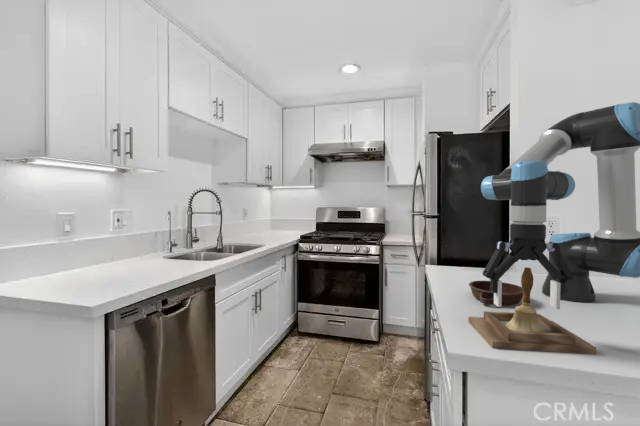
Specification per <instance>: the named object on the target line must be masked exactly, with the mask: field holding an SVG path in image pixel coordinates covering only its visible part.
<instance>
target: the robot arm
mask: <svg viewBox="0 0 640 426" xmlns="http://www.w3.org/2000/svg"><path fill="white" fill-rule="evenodd" d="M538 138H539V139H538V141H537V142H536V143H534V144H533V145H532V146H531V147H530V148H529V149H527V150H526V151H525V152H524V153H523V154H521V156H519V157H518V158H517V159H515V160H514V162H512V163H511V164H510V165H509V166H508V167H506V168H505V169H504V170H503V171H502V172H500V173H499V174H497V175H494V174H493V175H490V176H489V175H488V176H485V177H484V178H483V179H482V181H481V184H480V191H481V194H482V196H483V197H484V199H486V200H489V201H490V200H494V201H507V200H508V201H509V200H510V211H509V212H510V214H509V215H510V217H509V218H510V219H509V220H510V221H511V222H512V223H510V225H509V226H510V227H509V228H510V229H509V238H510V239H509V242H504V241H499V240H498V241H496V245H495V250H494V252H493V253H492V256H491V257H490V259H489V261H488V263H487V264H486V266H485V268H484V270H483V271H482V275H483V276H484V277H486V278H487V279H489V281H490V290H491V292H493V293H494V304H495V305H496V306H497V307H498V308H502V305H501V303H502V280H500V279H501V277H503V276H504V275H505V273H507V271H508V270H509V269H510V268H511V267H513V265H514V264H515V263H517V262H518V261H519V260H520V261H529V260H530V261H537V262H539V264H540V265H541V266H542V267H543V268H544V269H545V271H546V272H547V276H546V277H545V280H544V282H543V284H542V289H541V290H542V294H544V295H545V296H548V297H549V306H550V307H552V308H554V309H556V310H560V309H561V300H562V301H567V302H568V301H570V302H576V303H577V302H579V303H589V302H590V303H592V302H594V301H596V292H595V290H594V287H593V285H592V282H591V280H590V279H591V278H590V272H594V273H600V274H601V273H602V274H605V275H606V274H607V275H614V276H619V277H627V278H632V279H633V278H634V279H635V278H640V231H639V230H638V229H637V203H636V201H637V197H636V168H635V165H636V163H635V161H636V160H635V159H636V158H635V153H636V152H637V151H638V150H640V103H638V102H633V101H632V102H626V103H621V104H620V103H618V104H615V105H611V106H606V107H601V108H597V109H593V110H592V109H591V110H588V111H582V112H578V113H574V114H572V115H570V116H567V117H566V118H563V119H561V120H560V121H559V122H557V123H555V124H553V125H552V126H550V127H549V128H548V129H547V130H545V131H544V132H543V133H542V134H540V136H539V137H538ZM582 148H590V149H589V151H590V154H592V155H594V156H595V157H596V165H597V166H596V168H597V193H598V196H597V197H598V198H597V199H598V222H599V229H598V230H597V231H595V232H594V233H593V237H592V234H591V233H590V232H571V233H569V232H568V233H556V234H555V233H554V234H552V235H551V236H550V237H549V242H547V243H546V236H547V225H545V224H544V223H546V222H547V200H548V201H549V200H551V201H555V200H556V201H558V200H559V201H560V200H563V199H566V198H568V197H570V196H571V195H572V194H573V193H574V192H575V188H576V182H575V181H576V180H575V179H574V177H573V176H572V175H571V174H569V173H567V172H564V171H560V170H557V171H555V170H554V171H552V170H549V169H548V168H549V167H548V165H549V164H550V163H552V162H553V161H554V160H555V159H556V158H557V157H559V156H563V155H565V154H566V153H567V152H569V151H571V150H576V149H582ZM508 249H509V251H510V252H509V253H508V254H507V255H506V257H505V258H504V260H502V258H503V256H504V254H505V252H506V251H507V250H508ZM546 250H547V252H548V257H547V256H546V255H545V254H544V252H545V251H546ZM501 260H502V262H501ZM499 263H500V264H499ZM494 304H493V305H494ZM495 305H494V306H495Z"/></svg>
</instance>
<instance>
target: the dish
mask: <svg viewBox="0 0 640 426" xmlns="http://www.w3.org/2000/svg"><path fill="white" fill-rule="evenodd" d="M468 286H469V287H470V290H471V293H472V296H473V297H474V298H475V299H476V300H478V301H480V302H481V304H484V305H494V306H495V304H494V293H493V292H491V290H490V280H473V281H471V282H469V283H468ZM522 300H523V289H522V286H520V285H517V284H514V283H509V282H502V303H501V306H515V305H517V304H520V302H521V301H522Z"/></svg>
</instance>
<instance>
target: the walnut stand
mask: <svg viewBox="0 0 640 426" xmlns="http://www.w3.org/2000/svg"><path fill="white" fill-rule="evenodd" d="M514 313H515V312H508V311H506V312H504V311H486V310H485V311H483V316H468V319H467V320H468V323H469V325H471V327H472V328H473V329H474V330H475V331H476V332H477V333H478V334H479V335H480V336H481V337H482V338H483V339H484V341H485V342H486V343H487V344H488V345H489V347H491V348H492V349H502V350H503V349H506V350H519V351H520V350H523V351H524V350H525V351H539V352H556V353H570V354H571V353H572V354H587V353H588V354H589V355H596V354H597V347H596V346H594V345H593V344H591V343H590V342H588V341H586V340H585V339H583V338H581V337H580V336H578V335H577V334H575V333H574V332H571V330H568V329H566V328H565V327H564V326H561V325H560V324H558V323H557V322H555V321H553V320H550V319H549V318H547V317H546V316H544V315H542V314H541V313H536V315H537V320H538V323H539V325H540V327H541V328H542V329H543V330H544V332H545V333H543V332H523V331H511V330H510V329H509V328H507V327H506V324H507V323H508V322H509V321H511V320H512V318H513V316H514Z"/></svg>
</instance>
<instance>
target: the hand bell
mask: <svg viewBox="0 0 640 426" xmlns="http://www.w3.org/2000/svg"><path fill="white" fill-rule="evenodd" d="M523 269H524V270H523V272H522V273H521V276H520V277H521V278H520V280H521V281H520V282H521V284H520V285H521V287H522V289H523V297H522V299H521V301H522V302H521V305H517V306H515V309H514V312H513V313H514V316H513V318H512V320H511V321H509V322H508V323H507V324H506V327H507V328H509V329H510V330H511V331H523V332H543V333H545V332H544V330H543V329H542V328H541V327H540V325H539V323H538V320H537V315H536V314H537V310H536V309H535V308H533V307H531V291H532V289H533V287H534V274H533V272H532V268H531V267H526V266H525V267H524V268H523Z"/></svg>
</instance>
